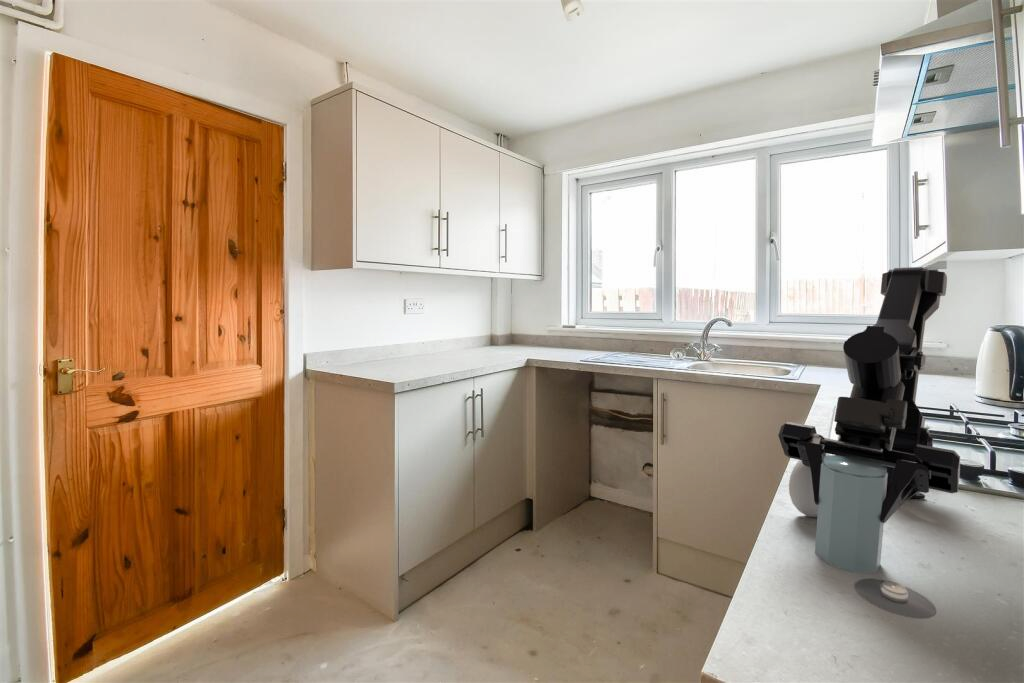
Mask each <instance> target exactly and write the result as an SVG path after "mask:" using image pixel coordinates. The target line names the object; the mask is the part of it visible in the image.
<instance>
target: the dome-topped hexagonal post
mask: <svg viewBox="0 0 1024 683" xmlns="http://www.w3.org/2000/svg"><path fill="white" fill-rule="evenodd" d="M829 455H830V456H826V457H824V459H823V463H822V464H821V473H820V487H819V502H818V515H817V517H816V520H817V521H816V533H815V534H816V535H815V546H814V553H815V555H817V556H818V557H819V558H821V560H823V561H825V563H826V564H828V565H831V566H834V567H837V568H839V569H843V570H845V571H849V572H850V573H855V574H857V573H858V574H860V573H861V574H863V573H864V574H877V571H879V568H880V566H881V561H882V550H883V549H882V547H883V536H884V526H885V523H882V522H881V521H880V516H881V510H882V506H883V503H884V500H885V497H886V489H887V477H888V472H886V471H887V469H886V467H885V466H883V465H881V464H879V463H876V462H874V461H870V460H867V459H862V458H858V457H852V456H842V455H832V454H829Z"/></svg>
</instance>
